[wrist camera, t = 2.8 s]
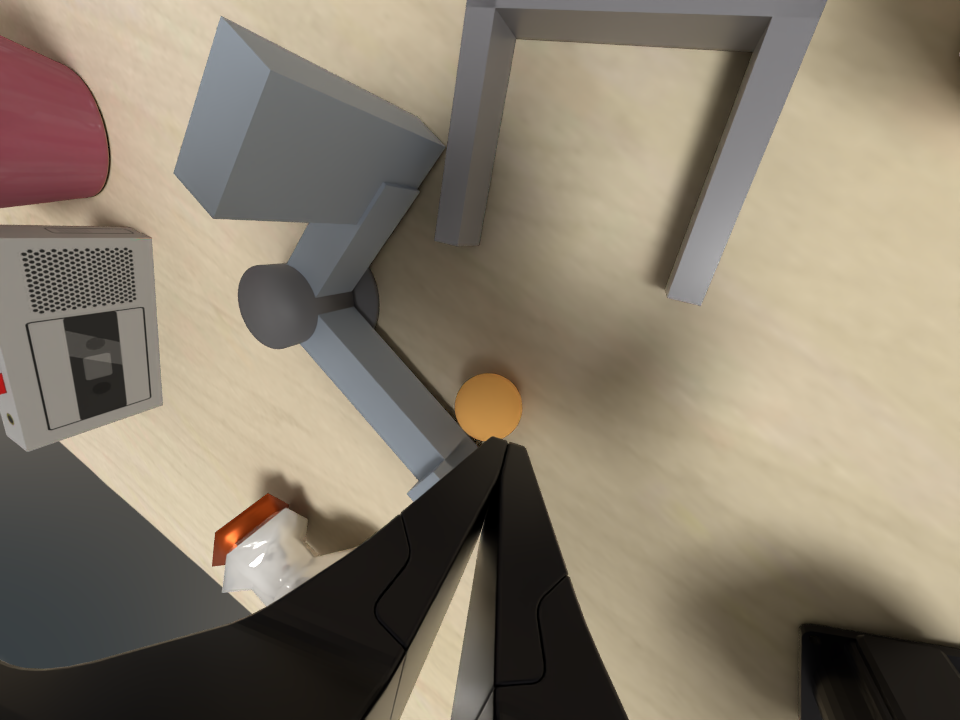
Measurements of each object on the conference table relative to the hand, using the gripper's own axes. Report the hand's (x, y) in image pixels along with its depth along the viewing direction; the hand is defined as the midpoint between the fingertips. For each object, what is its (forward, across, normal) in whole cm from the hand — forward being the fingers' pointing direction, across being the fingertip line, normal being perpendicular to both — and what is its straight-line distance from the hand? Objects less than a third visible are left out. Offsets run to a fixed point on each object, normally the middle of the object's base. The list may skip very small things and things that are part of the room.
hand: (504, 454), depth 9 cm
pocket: (+12, 0, -6) cm, 14 cm away
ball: (+9, +1, +6) cm, 11 cm away
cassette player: (+16, +32, +13) cm, 38 cm away
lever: (+11, +5, +3) cm, 13 cm away
